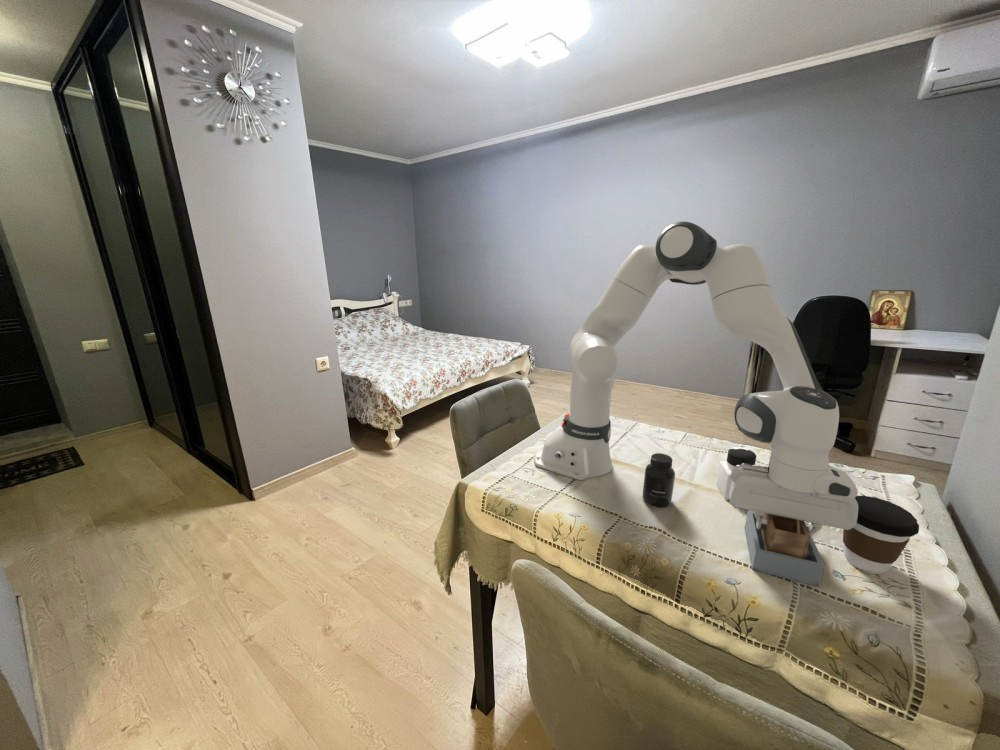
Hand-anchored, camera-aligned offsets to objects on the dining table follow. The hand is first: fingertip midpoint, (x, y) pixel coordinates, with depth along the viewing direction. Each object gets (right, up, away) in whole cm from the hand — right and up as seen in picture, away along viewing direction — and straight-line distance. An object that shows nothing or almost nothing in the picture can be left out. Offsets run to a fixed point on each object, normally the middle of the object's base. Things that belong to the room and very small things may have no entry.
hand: (782, 533), depth 81 cm
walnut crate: (0, -2, 0) cm, 2 cm away
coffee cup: (+15, -6, -1) cm, 16 cm away
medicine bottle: (+3, +1, +22) cm, 22 cm away
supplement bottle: (-17, 0, +20) cm, 26 cm away
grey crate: (0, -5, +1) cm, 5 cm away
